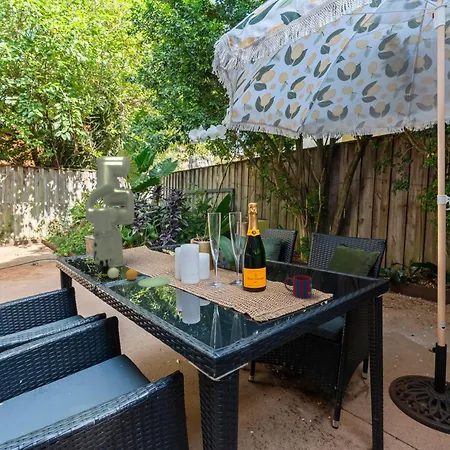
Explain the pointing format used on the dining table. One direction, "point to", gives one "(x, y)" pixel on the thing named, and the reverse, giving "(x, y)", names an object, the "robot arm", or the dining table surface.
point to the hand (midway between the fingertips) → (105, 273)
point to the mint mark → (154, 282)
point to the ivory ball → (113, 272)
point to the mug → (301, 286)
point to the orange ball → (131, 274)
